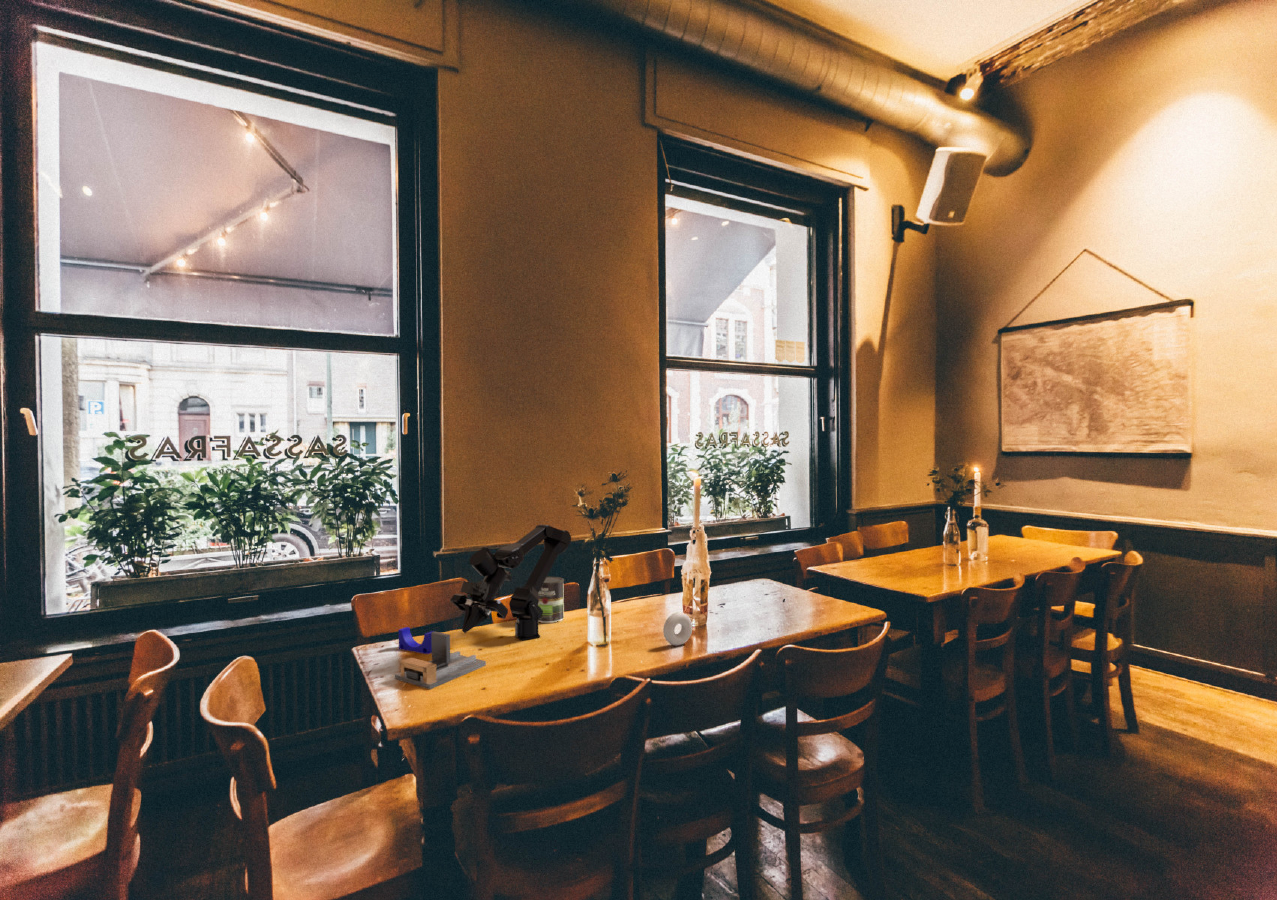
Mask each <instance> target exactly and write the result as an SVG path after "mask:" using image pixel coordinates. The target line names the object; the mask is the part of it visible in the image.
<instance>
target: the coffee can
mask: <svg viewBox="0 0 1277 900" xmlns="http://www.w3.org/2000/svg"><path fill="white" fill-rule="evenodd" d="M564 582H565V579H564V578H563V577H560V576H547V577H546V579H545V581H544V583H543V585H542V587H541V588H540V590H539V593H538V594H539V603H538V606H539V607H540V608H541V609H542V610H543V614H542V618H540V619H539V620H538V623H539V622H541V624H555V623H554V622H556V623H558V622H557V621H560V622H562V621H563V618H564V619H565V613H564V612H565V603H564V602H565V601H564V600H565V597H564V593H565V592H564V590H565V588H564V587H565V586H564V585H565V584H564Z"/></svg>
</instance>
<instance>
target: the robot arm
mask: <svg viewBox="0 0 1277 900" xmlns="http://www.w3.org/2000/svg"><path fill="white" fill-rule="evenodd" d="M542 542H543V548H544V549H543V551H542V553H541V555H540V557H539V559H538V561H537V562H536V564H535V566H534V567H533V570H531V571H532V572H531V574H530V575H529V577H528V578H527V581H526V583H525V584H524V586H522V587H520V586H517V587H516V588H515V589H514V590H513V593H512V594H511V595H510V600H509V603H508V605H509V609H508V607H507V606H506V605H505V604H504V603H503V602H502V601H501V600H497V599H496V597H497V598H500V596H501V593H500V592H499V591H500V590H501V588H502V587H503V585H504V583H505V581H508V582H511V581H512V579H513V578H512V576H511V571H508V570H506V569H512V570H514V569H517V568H518V567H519V565H520V564H521V563H522V562H523V561H524V560H525V556H526V554H528V553H529V552H530V551H532V550H533V549H534V548H535V547H537V546H538V545H539V544H541V543H542ZM571 542H572V536H571V534H570V532H569V531H568V530H563V529H558V528H556V527H553V526H551V525H550V524H538V525H536V526H535V528H533V529H531V531H530V532H528V533H527V534H525V535H524V536H523V537H521V538H520V539H519V540H517V541H515V542H514V543H512V544H507V545H504V546H503V547H500V548H499V549H497V550H496V551H495V552H494V553H493V552H491V549H489V547H487V546H482V547H481V549H479V550H477V551H476V552H475V553H473V554H472V555H471V556H470V558H469V565H471V566H472V568H473V569H474V570H475V571H476V572H477V573H478V574H479V575H480V576H481V577H484V579H483V580H478V581H477V582H472V581H467V580H463V582H462V584H461V587H460V591H459V592H460V593H455V594H453V595H452V597H451V598H450V599H449V600H450V602H451V603H452V604H453V606H455V607H456V608H457V609H458V610H459V611H461V612H464V613H465V614H464V619H463V624H462V628H461V631H462V632H463V633H465V634H467V633H468V632H469V631H471V630H472V629H473V628H475V627H476V626H478V625H479V624H481V623H483V622H484V621H485V620H488V619H490V614H491V613H492V612H495V613H496V617H497V618H499V619H503V620H505V619H506V618H507V616H508V614H509V610H510V612H511V615H512V618H516V622H515V623H514V636H516V638H518V639H519V640H520V641H527V640H533V639H538V638H541V635H540V634H539V622H538V620H539V619H540V618H542V614H543V610H542V609H541V608H540V607H539V606H538V603H539V594H538V593H539V590H540V588H541V587H542V585H543V583H544V581H545V579H546V577H548V575H549V573H550V571H551V569H552V567H553V565H554V563H555V562H556V559H557V557H558V556H560V555H561V554H562V553H564V552H566V550H567V549H568V547H569V546H570V543H571ZM463 593H464V594H463ZM465 594H468V596H467V595H465Z"/></svg>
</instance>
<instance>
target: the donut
mask: <svg viewBox="0 0 1277 900" xmlns="http://www.w3.org/2000/svg"><path fill="white" fill-rule="evenodd" d="M677 625H680V626H681V627H680V628H681V629H680V631H679V632H678V633H676V632H675V629H676V626H677ZM662 631H663V637H664V640H665V641H666V642H667V643H668V644H670V645H672V646H681V645H683V644H685V643H686V642H687V641H688V640H689V639H690V638H691V635H692V632H693V622H692V620H691V618H690V616H689V615H688V614H686V613H684V612H680V611H679V612H674V613H672V614H671V615H669V616H668V617H667V618H666V620H665V622H664V624H663V630H662Z"/></svg>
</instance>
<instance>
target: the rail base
mask: <svg viewBox="0 0 1277 900" xmlns="http://www.w3.org/2000/svg"><path fill="white" fill-rule="evenodd" d="M430 661H433V660H432V659H431V660H429V661H426V660H422V659H419V658H414V657H407V658H404V659H402V660H400V662H399V663H400V672H397V673H394V680H397V681H401V682H405V683H408V684H411V685H414V686H416V687H417V686H418V687H421V688H424V689H428V690H433V689H435V688H437V687H439V686H441V685H444V684H446V683H448V682H450V681H453V680H455V679H457V678H460V677H462V676H465V675H467V674H469V673H471V672H474V671H476V670H478V669H480V668H483V667H485V666H486V664H487V661H486V660H483V659H479V658H477V655H476V654H472V655H470V656H466V655H462V654H461V651H458V650H457V651H454V652H450V662H449V663H448V665H447V666H444V667H442V668H439V669H437V670H436V664H434V663H430ZM409 669H413V670H417V671H421V672H423V675H422V676H420V679H418V680H416V679H413V678H409V677H406V670H409ZM434 687H435V688H434Z"/></svg>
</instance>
